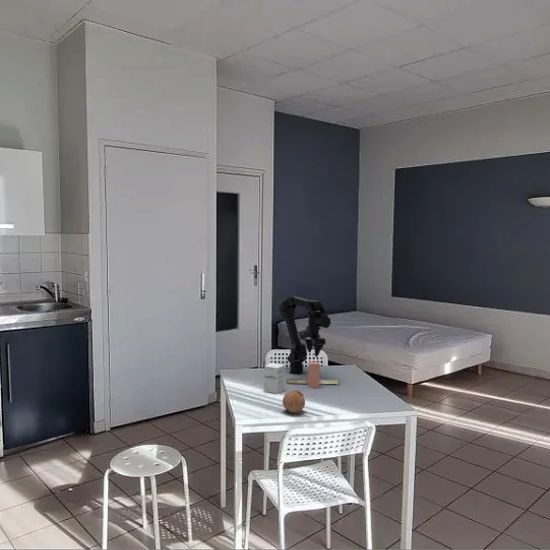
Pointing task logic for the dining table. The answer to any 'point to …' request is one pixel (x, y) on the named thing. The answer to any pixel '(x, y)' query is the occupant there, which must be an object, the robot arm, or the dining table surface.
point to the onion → (294, 402)
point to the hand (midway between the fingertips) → (312, 354)
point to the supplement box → (274, 378)
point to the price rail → (305, 381)
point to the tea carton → (313, 374)
